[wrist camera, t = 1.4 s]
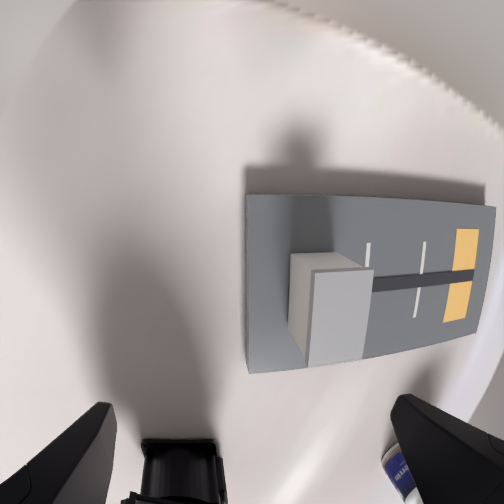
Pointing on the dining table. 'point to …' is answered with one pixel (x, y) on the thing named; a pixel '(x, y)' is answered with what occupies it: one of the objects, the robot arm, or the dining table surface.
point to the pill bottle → (400, 475)
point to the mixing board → (368, 255)
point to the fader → (329, 307)
